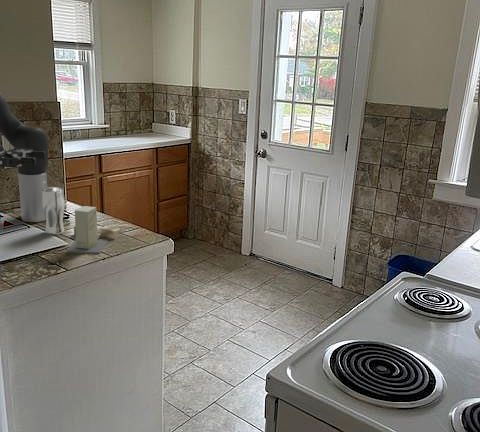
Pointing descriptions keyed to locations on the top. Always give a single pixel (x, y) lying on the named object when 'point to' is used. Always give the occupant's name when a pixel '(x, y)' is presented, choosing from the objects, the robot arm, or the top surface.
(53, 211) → the beer glass
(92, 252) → the slate coaster
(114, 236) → the beech brick
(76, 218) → the skincare box
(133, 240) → the top surface
